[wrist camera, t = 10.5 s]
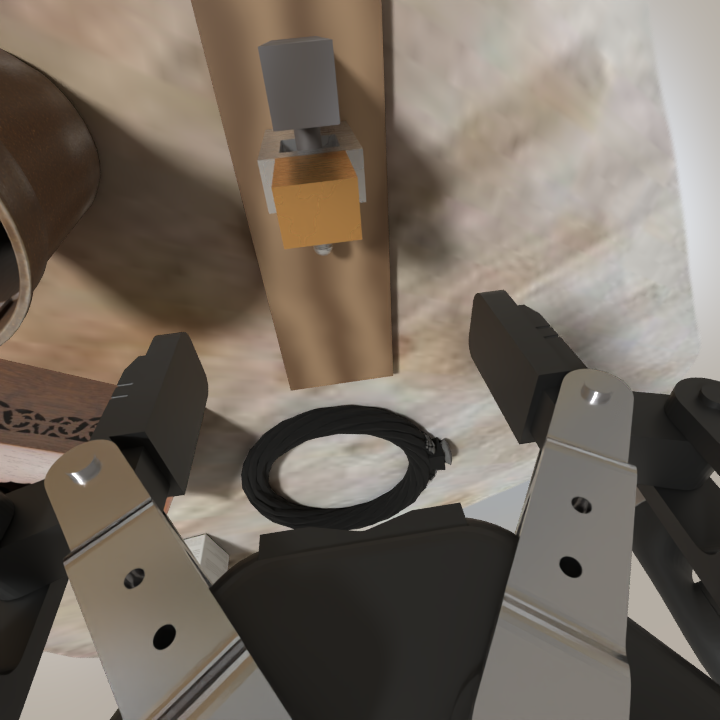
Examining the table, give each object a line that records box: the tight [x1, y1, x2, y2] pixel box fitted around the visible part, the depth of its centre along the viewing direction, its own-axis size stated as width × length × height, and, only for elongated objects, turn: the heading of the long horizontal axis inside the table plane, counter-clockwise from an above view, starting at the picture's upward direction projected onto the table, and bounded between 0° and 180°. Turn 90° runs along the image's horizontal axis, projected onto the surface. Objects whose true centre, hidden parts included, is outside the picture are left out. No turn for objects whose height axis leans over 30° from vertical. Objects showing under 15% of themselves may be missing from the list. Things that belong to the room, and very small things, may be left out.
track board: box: [191, 0, 393, 390], centre depth 31 cm, size 12×34×16 cm, turn 4°
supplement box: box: [184, 534, 229, 584], centre depth 63 cm, size 9×9×15 cm
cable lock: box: [241, 406, 452, 530], centre depth 58 cm, size 28×4×30 cm
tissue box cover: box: [0, 359, 174, 514], centre depth 44 cm, size 26×14×10 cm, turn 63°
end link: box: [257, 121, 366, 256], centre depth 27 cm, size 6×9×15 cm, turn 4°
